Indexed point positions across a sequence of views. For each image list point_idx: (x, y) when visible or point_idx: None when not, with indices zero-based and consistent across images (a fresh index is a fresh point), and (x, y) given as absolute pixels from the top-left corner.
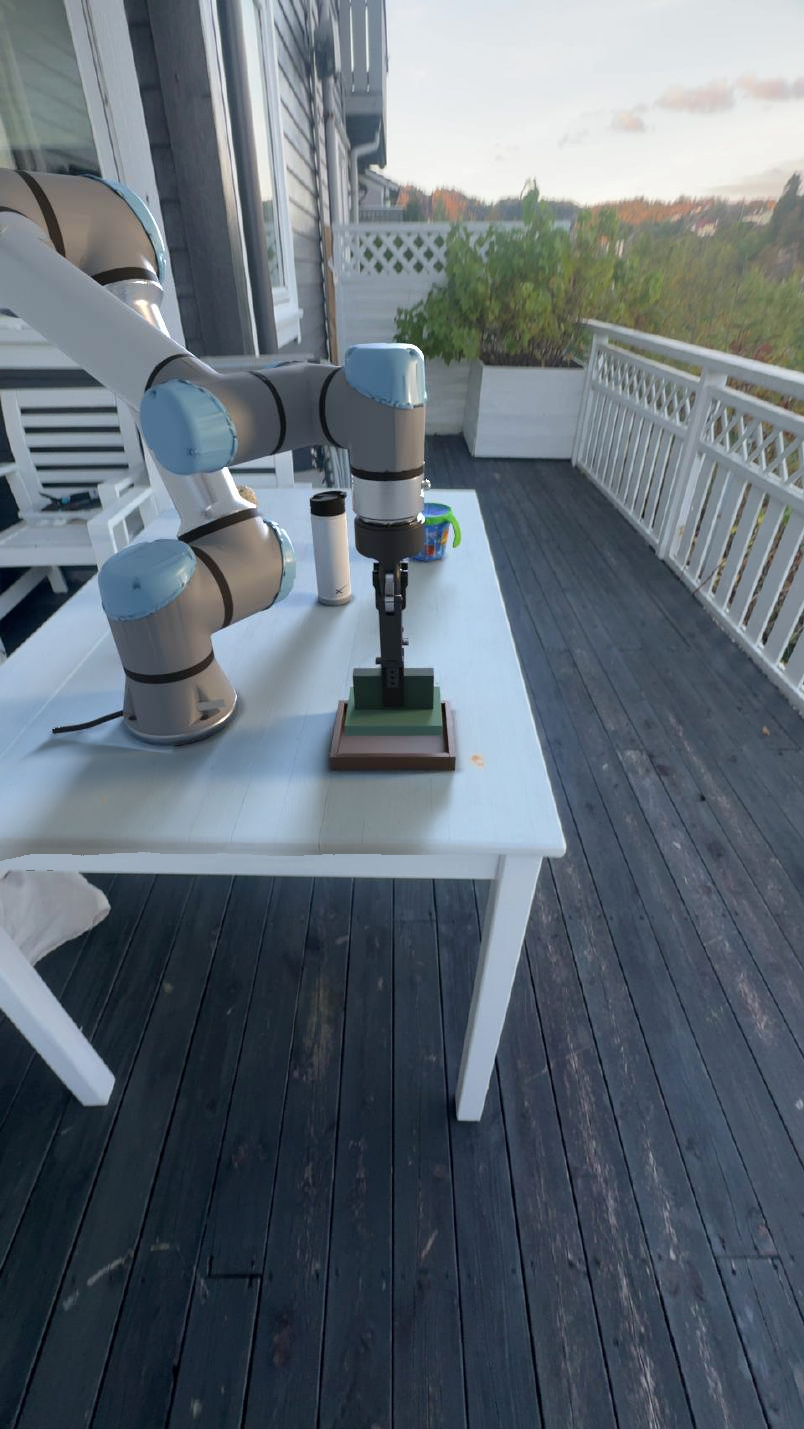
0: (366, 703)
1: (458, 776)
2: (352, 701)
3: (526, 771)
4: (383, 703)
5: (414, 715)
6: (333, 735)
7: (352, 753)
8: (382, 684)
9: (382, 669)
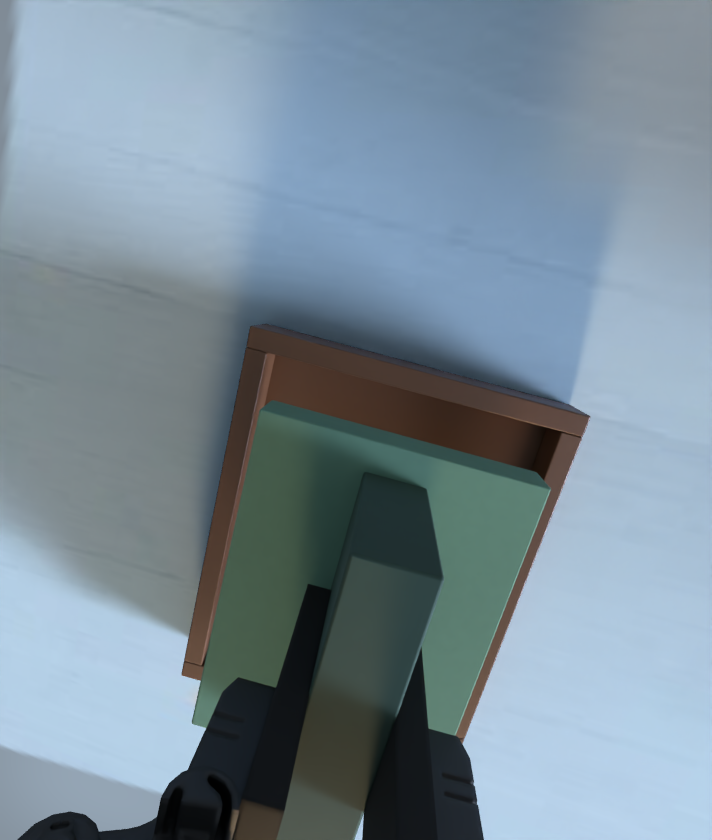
0: (348, 529)
1: (175, 641)
2: (430, 473)
3: (167, 779)
4: (304, 596)
5: (270, 663)
6: (368, 359)
7: (253, 404)
8: (283, 665)
9: (259, 749)
